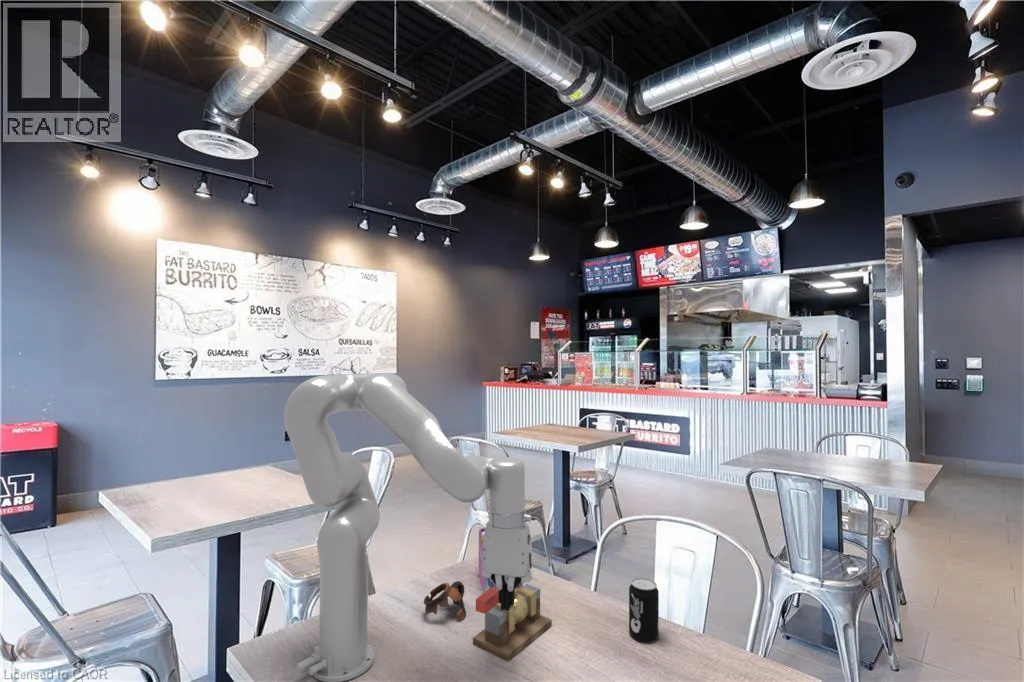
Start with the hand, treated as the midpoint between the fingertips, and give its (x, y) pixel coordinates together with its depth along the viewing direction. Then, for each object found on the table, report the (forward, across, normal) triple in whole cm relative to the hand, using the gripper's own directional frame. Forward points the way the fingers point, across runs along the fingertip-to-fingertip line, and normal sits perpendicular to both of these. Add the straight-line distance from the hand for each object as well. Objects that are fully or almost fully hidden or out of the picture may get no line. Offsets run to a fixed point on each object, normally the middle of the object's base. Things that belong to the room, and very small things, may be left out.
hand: (506, 606), depth 101 cm
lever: (+1, +3, -5) cm, 6 cm away
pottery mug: (+12, +20, -15) cm, 28 cm away
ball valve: (+9, +2, -11) cm, 14 cm away
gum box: (+12, +11, -29) cm, 34 cm away
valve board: (+12, +2, -11) cm, 16 cm away
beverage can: (+12, -27, -20) cm, 36 cm away
